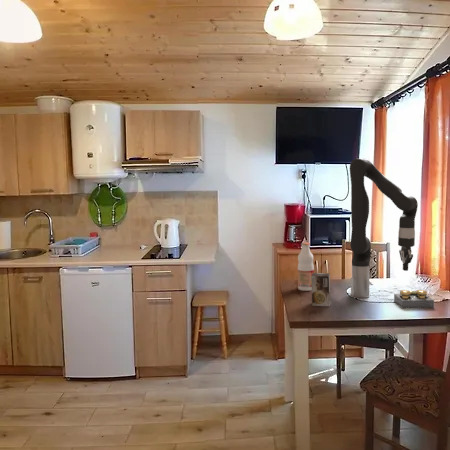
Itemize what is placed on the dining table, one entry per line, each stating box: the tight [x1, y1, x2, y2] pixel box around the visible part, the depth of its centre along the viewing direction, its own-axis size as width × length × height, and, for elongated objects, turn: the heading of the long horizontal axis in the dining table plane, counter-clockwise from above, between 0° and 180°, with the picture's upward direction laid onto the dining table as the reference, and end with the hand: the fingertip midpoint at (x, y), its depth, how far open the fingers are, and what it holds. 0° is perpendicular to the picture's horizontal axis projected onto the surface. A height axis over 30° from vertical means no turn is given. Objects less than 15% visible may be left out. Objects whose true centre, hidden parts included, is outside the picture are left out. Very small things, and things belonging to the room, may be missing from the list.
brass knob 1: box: [399, 289, 411, 298], centre depth 206 cm, size 5×5×7 cm
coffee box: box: [311, 272, 331, 307], centre depth 210 cm, size 9×6×16 cm
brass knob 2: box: [415, 289, 428, 298], centre depth 205 cm, size 5×5×7 cm
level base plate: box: [393, 290, 435, 309], centre depth 206 cm, size 15×12×6 cm
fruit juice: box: [297, 241, 315, 292], centre depth 240 cm, size 9×9×28 cm
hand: (405, 270), depth 204 cm, fingers closed
